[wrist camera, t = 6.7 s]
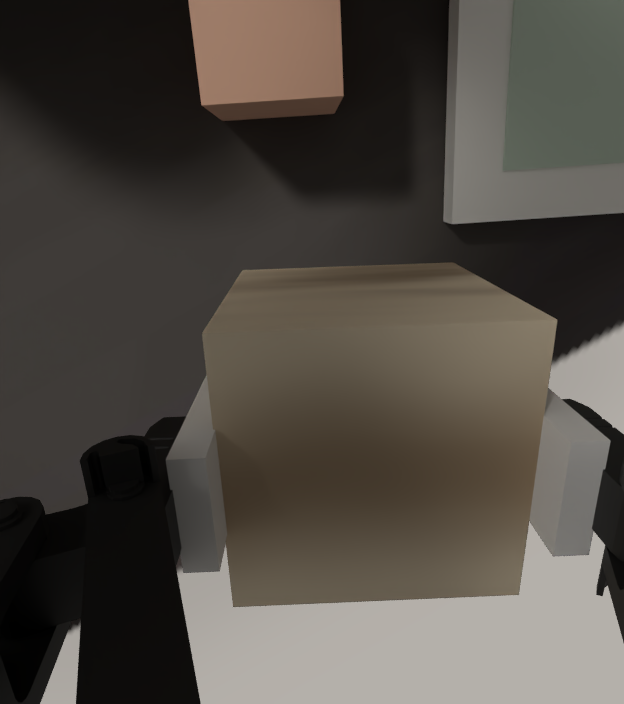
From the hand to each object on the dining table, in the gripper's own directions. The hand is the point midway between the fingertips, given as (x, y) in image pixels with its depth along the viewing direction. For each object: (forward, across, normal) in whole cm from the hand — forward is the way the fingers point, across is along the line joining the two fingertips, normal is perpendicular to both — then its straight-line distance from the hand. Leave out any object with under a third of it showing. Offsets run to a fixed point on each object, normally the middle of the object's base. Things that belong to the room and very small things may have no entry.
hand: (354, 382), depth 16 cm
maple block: (+2, 0, 0) cm, 2 cm away
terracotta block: (+19, -3, +13) cm, 24 cm away
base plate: (+19, +15, +11) cm, 27 cm away
